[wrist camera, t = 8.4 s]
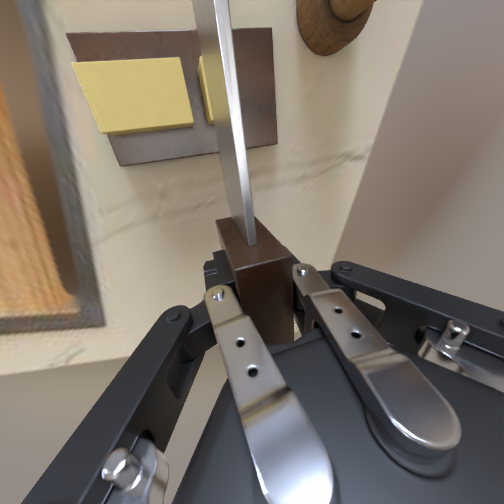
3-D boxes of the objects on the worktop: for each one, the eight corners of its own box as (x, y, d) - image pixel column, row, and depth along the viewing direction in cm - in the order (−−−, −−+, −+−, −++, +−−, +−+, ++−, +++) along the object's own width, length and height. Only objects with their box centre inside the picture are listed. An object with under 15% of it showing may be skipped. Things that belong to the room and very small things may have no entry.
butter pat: (232, 121, 19) (238, 117, 17) (208, 124, 19) (210, 120, 16) (224, 68, 18) (230, 54, 15) (197, 69, 17) (199, 55, 15)
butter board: (274, 144, 22) (277, 143, 22) (123, 166, 19) (119, 166, 19) (268, 32, 18) (272, 26, 17) (71, 38, 15) (64, 32, 14)
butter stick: (193, 126, 19) (194, 122, 16) (113, 135, 17) (100, 133, 15) (180, 70, 17) (179, 56, 14) (89, 76, 16) (70, 62, 13)
